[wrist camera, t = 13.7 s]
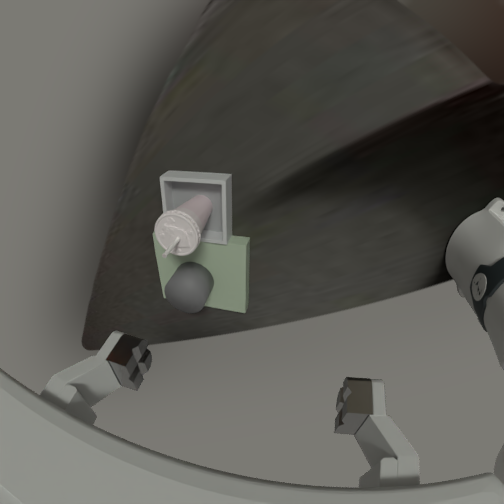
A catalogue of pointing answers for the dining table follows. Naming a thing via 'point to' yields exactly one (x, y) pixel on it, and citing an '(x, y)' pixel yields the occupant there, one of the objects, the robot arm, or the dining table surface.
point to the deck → (205, 248)
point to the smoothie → (183, 226)
